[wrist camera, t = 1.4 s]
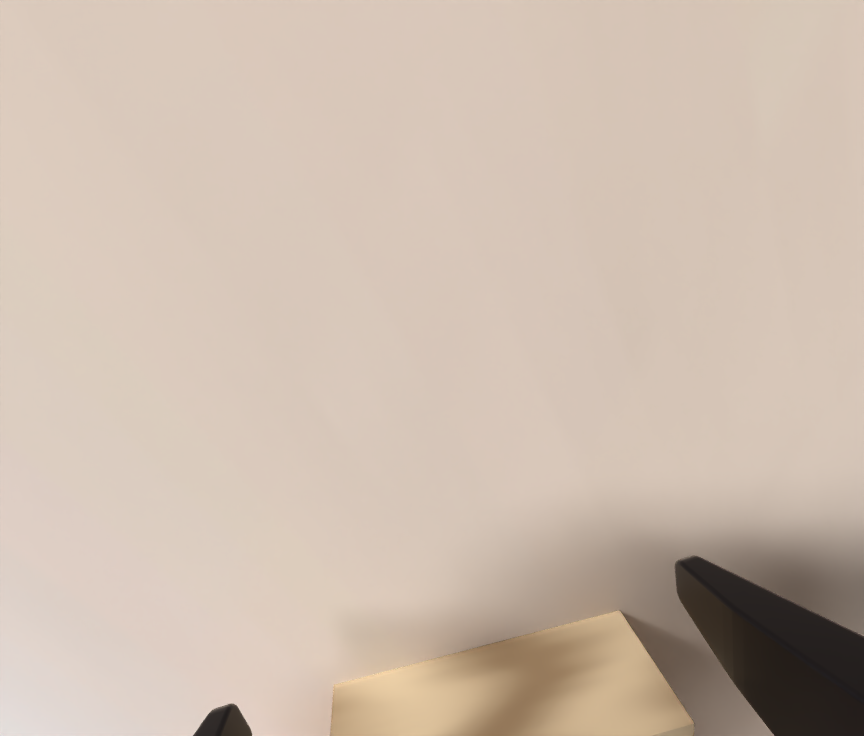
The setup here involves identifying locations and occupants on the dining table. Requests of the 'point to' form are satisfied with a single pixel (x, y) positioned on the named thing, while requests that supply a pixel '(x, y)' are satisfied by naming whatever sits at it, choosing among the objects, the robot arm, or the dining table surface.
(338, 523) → the dining table surface
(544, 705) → the cream rectangular block
